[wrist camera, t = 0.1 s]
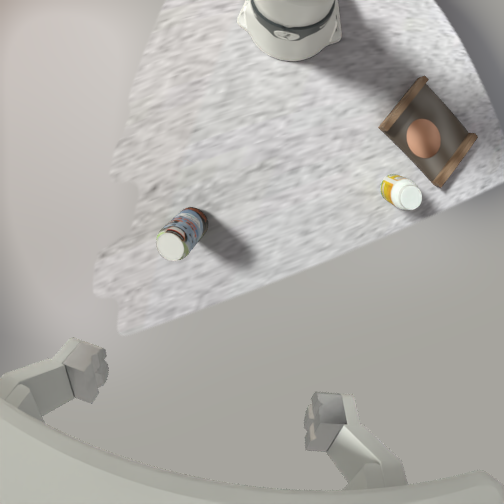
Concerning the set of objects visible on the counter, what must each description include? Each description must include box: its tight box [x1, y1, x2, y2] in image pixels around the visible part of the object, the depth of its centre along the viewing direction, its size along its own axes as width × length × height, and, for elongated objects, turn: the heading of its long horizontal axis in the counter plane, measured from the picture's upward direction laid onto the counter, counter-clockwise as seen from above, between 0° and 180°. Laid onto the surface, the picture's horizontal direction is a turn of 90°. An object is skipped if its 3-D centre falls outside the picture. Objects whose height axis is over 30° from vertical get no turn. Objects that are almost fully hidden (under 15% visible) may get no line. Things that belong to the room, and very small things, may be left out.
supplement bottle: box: [380, 174, 422, 210], centre depth 49 cm, size 5×5×10 cm
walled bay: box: [378, 76, 478, 188], centre depth 47 cm, size 14×16×3 cm
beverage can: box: [156, 207, 208, 261], centre depth 53 cm, size 6×7×12 cm
